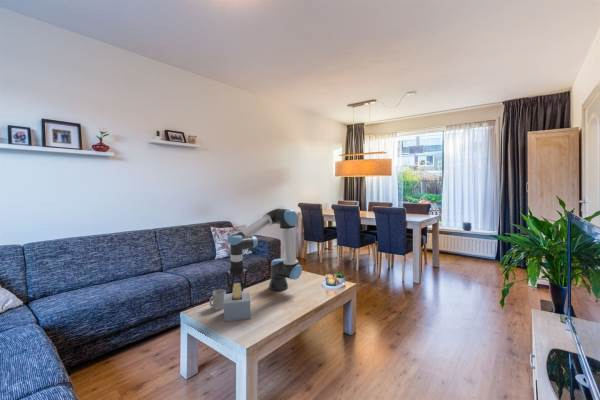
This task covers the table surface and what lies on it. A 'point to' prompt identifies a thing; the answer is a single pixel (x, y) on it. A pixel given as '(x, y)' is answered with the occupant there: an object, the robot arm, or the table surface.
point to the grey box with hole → (237, 307)
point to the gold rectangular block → (236, 290)
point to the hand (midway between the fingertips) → (237, 296)
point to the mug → (218, 299)
